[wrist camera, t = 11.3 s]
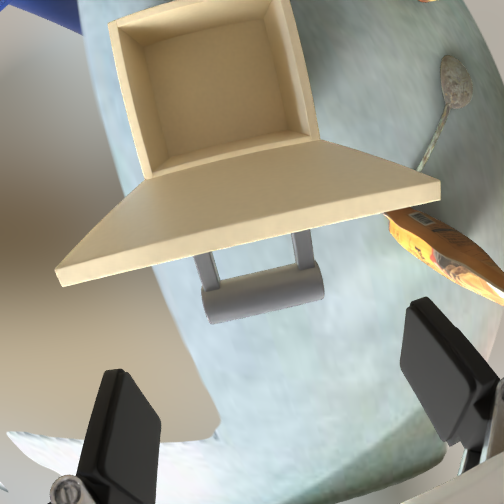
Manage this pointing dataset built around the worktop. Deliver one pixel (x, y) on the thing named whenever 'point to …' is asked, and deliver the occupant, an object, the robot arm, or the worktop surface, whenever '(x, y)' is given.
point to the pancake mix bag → (447, 252)
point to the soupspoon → (450, 95)
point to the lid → (246, 220)
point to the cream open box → (212, 81)
